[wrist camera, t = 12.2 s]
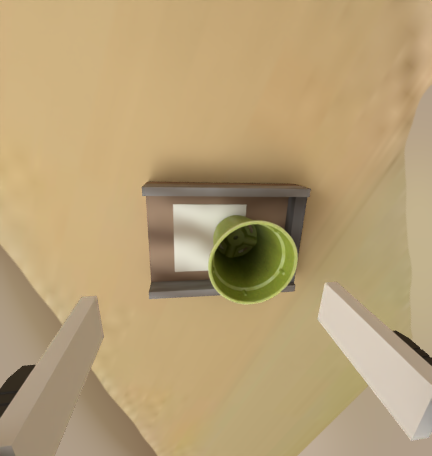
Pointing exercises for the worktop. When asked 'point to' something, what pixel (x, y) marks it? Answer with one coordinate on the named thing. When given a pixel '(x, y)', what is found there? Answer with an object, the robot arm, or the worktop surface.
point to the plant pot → (251, 260)
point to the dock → (209, 227)
